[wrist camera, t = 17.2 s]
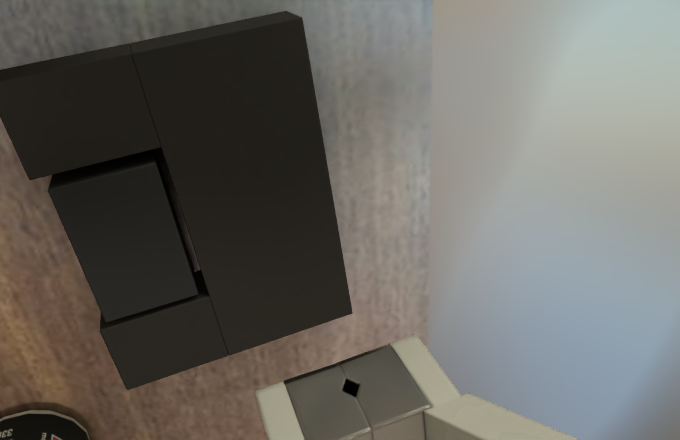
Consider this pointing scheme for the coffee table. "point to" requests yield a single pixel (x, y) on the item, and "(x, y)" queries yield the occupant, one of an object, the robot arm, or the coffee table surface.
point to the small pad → (125, 233)
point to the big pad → (203, 177)
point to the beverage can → (41, 426)
